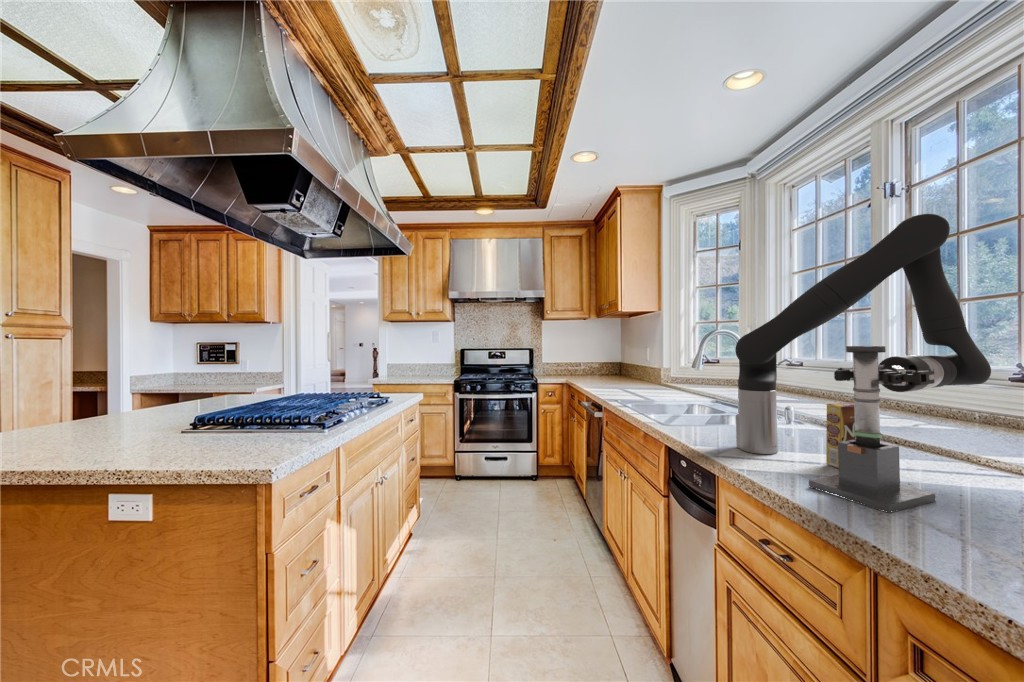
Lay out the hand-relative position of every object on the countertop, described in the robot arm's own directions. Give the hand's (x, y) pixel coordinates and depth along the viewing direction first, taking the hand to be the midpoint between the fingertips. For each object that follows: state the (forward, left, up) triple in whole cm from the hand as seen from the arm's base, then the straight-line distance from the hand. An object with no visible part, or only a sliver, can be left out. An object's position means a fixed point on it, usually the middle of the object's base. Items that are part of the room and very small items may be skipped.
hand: (859, 377), depth 81 cm
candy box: (-13, +18, -24) cm, 32 cm away
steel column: (0, +2, -15) cm, 15 cm away
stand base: (0, +2, -24) cm, 24 cm away
